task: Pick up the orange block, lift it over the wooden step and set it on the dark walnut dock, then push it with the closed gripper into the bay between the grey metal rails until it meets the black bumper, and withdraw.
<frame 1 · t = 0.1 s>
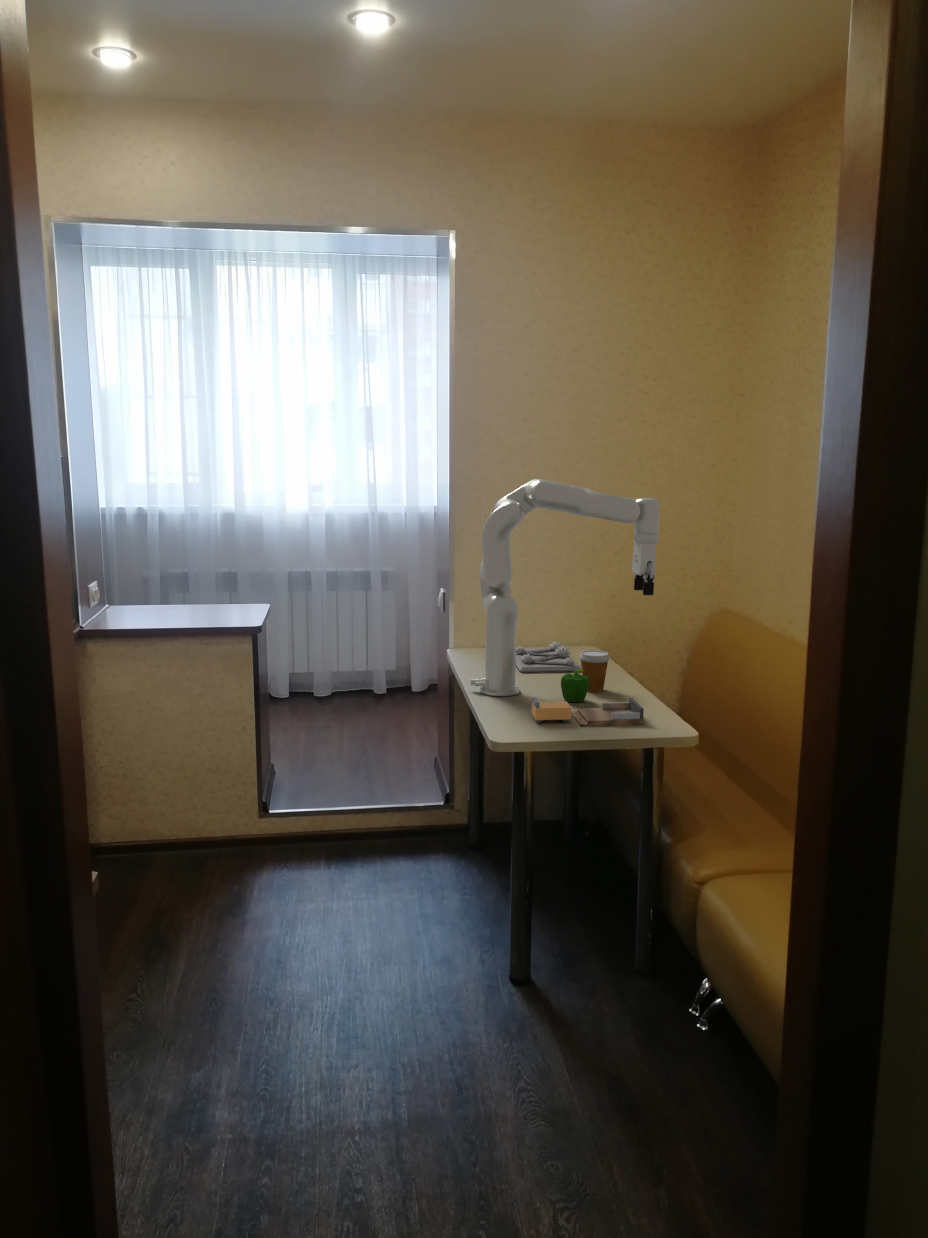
hand: (643, 592, 293), 31 cm above the table, tool pointing down, fingers open, 9 cm apart
bell pepper: (573, 701, 285), on the table
decorative plate: (543, 664, 334), on the table
loading dock: (606, 719, 266), on the table
orange block: (551, 720, 264), on the table
disposable coffee cup: (593, 690, 297), on the table
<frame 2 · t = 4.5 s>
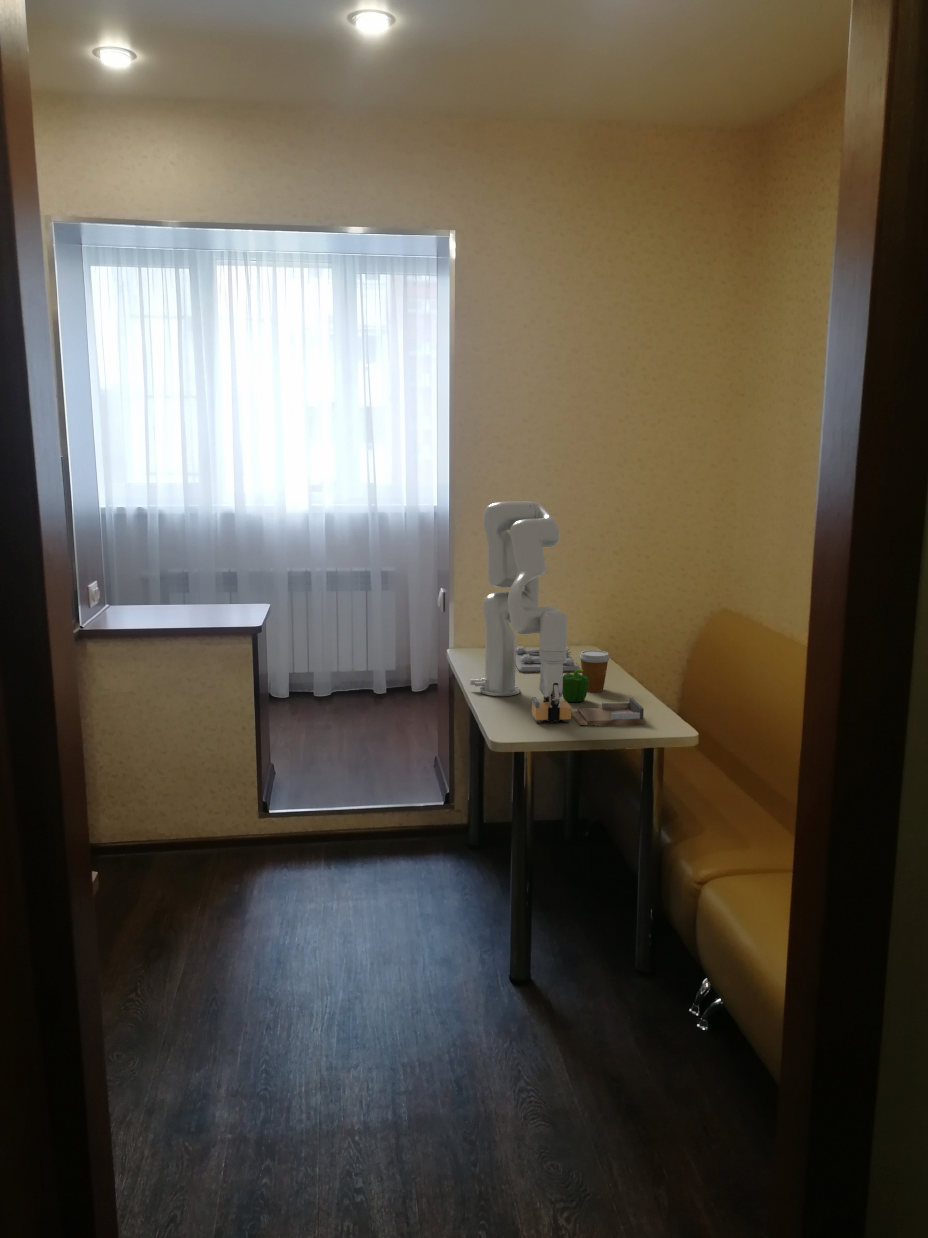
hand: (551, 716, 264), 1 cm above the table, tool pointing down, fingers closed on orange block, 6 cm apart
orange block: (551, 720, 264), on the table, touching gripper
everything else where it was.
when the fingers open (3 cm above the table, at t = 10.6 s): orange block stays where it is, resting on loading dock.
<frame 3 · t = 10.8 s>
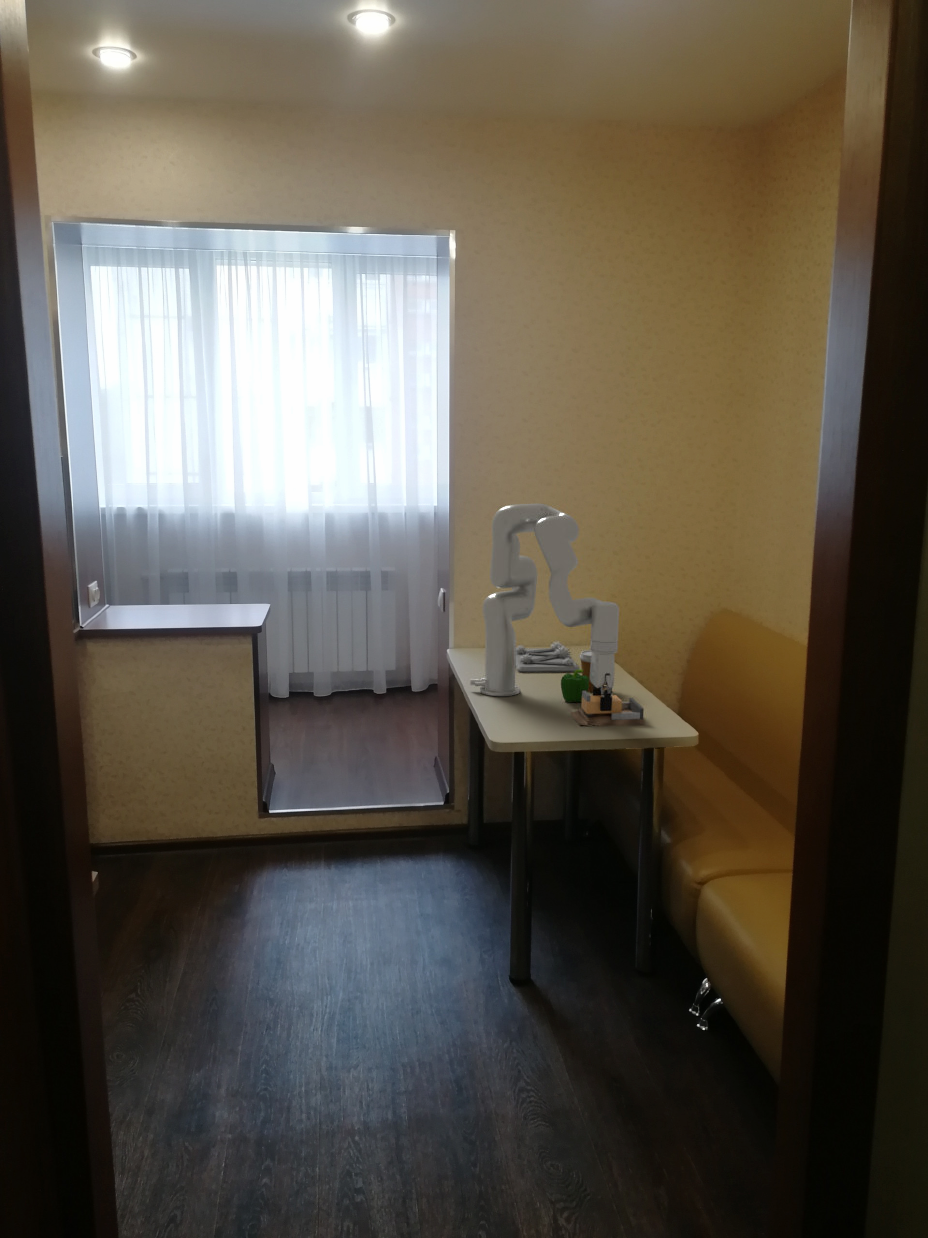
hand: (601, 706, 265), 4 cm above the table, tool pointing down, fingers open, 8 cm apart
orange block: (601, 714, 265), point 1 cm above the table, touching loading dock
everything else where it was.
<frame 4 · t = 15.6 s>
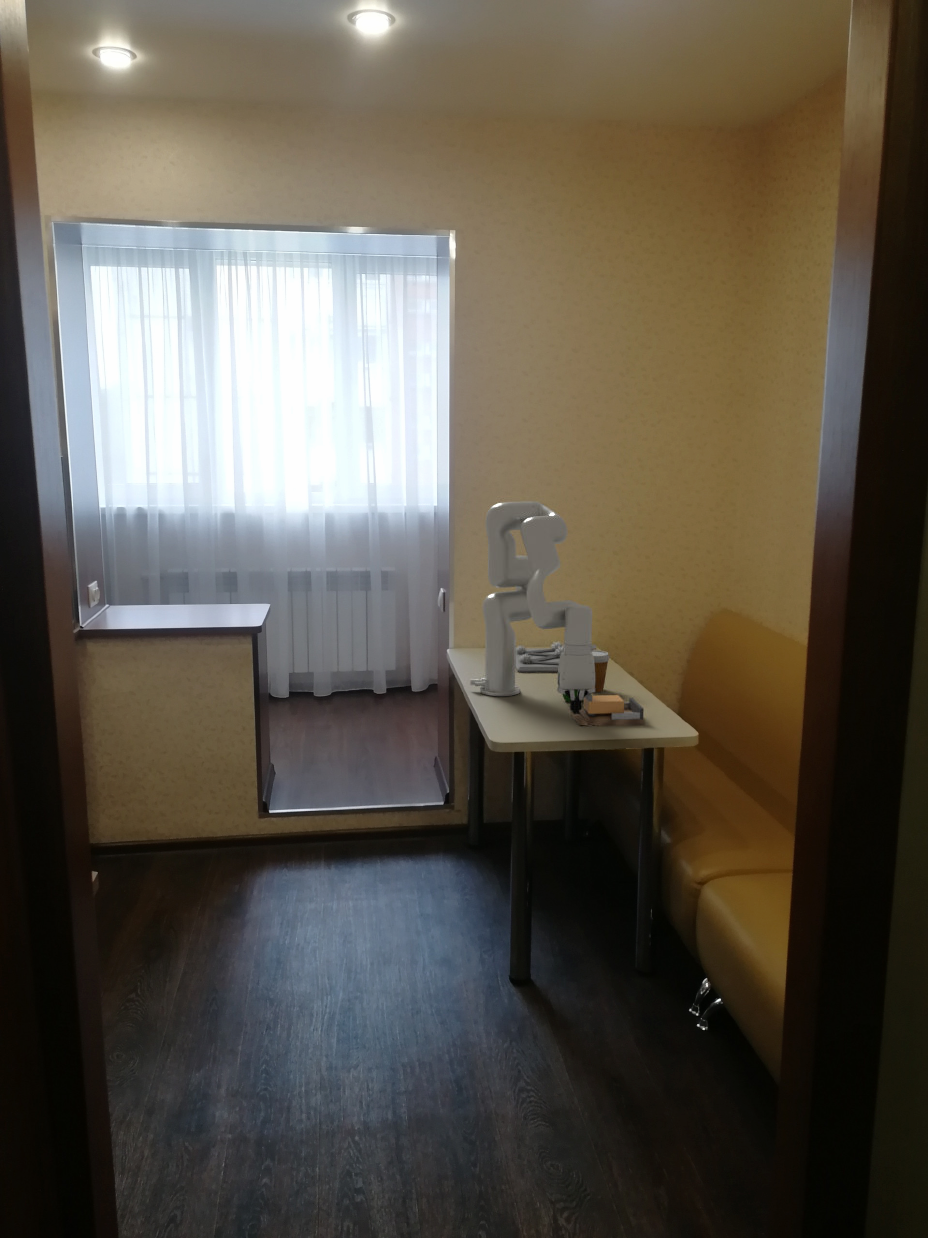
hand: (575, 712, 264), 2 cm above the table, tool pointing down, fingers closed
orange block: (603, 714, 265), point 2 cm above the table, touching gripper
everything else where it was.
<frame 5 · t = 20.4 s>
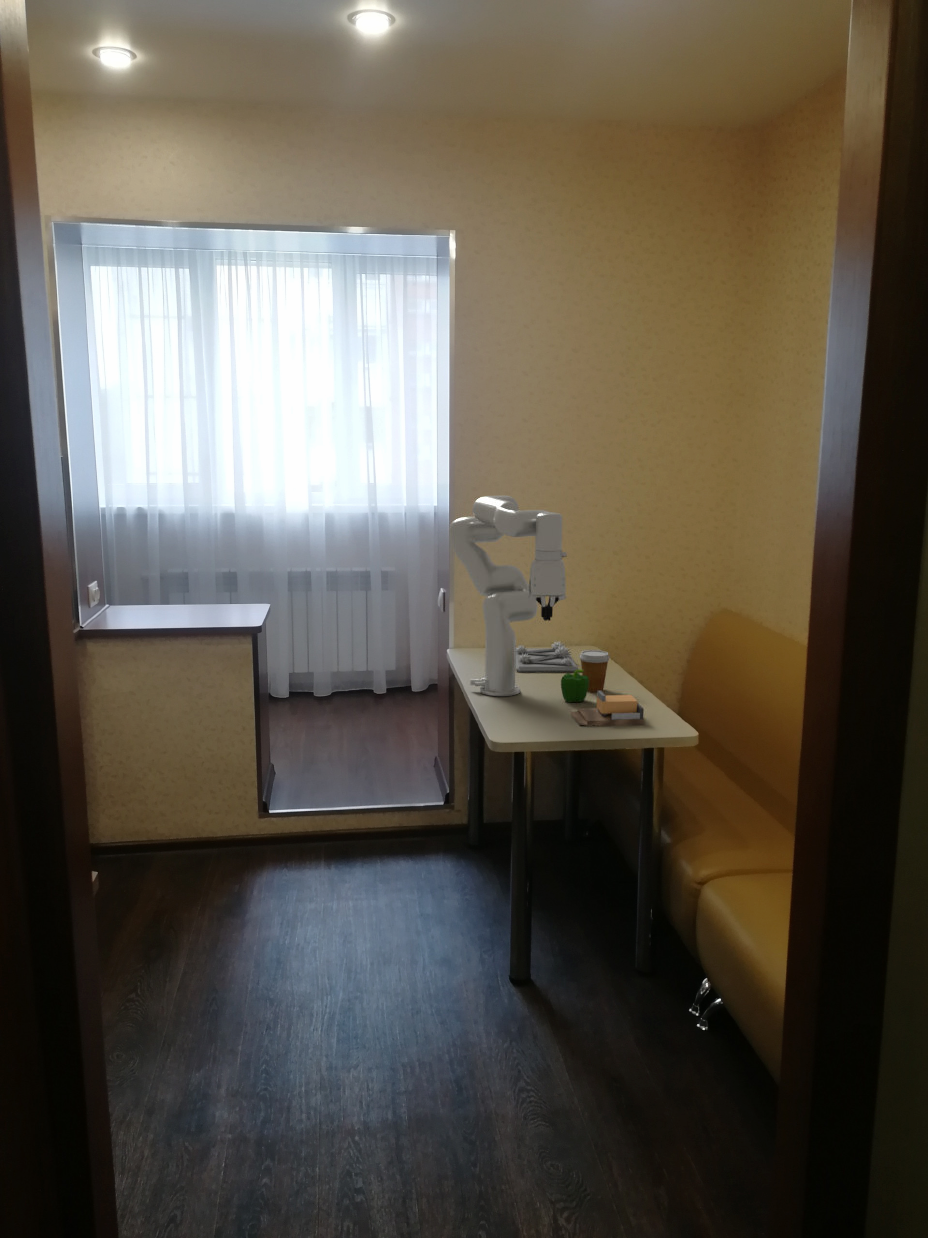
hand: (546, 619, 269), 27 cm above the table, tool pointing down, fingers closed
orange block: (616, 714, 265), point 1 cm above the table, touching loading dock
everything else where it was.
at the end: orange block 0.5 cm from the target spot on the loading dock, point 1.5 cm above the loading dock's base; orange block tilted 0°; orange block moved 18.8 cm from its start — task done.
